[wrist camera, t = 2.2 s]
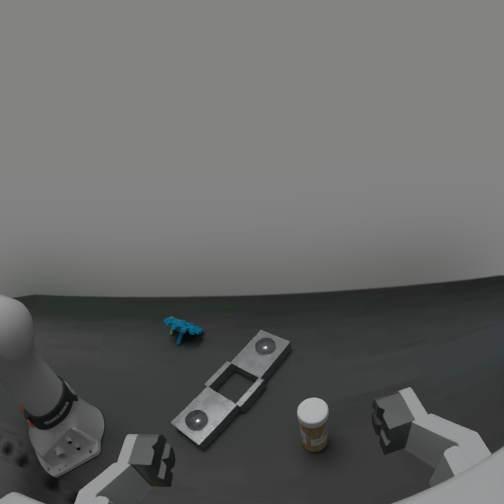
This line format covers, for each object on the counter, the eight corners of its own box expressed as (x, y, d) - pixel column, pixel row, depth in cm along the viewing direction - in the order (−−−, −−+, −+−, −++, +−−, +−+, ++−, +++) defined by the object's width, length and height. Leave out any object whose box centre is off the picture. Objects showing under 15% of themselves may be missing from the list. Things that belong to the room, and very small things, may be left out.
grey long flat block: (207, 453, 46) (201, 446, 45) (173, 426, 52) (166, 418, 50) (295, 351, 64) (293, 341, 62) (260, 336, 70) (257, 326, 68)
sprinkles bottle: (324, 454, 42) (324, 425, 36) (299, 450, 44) (292, 420, 37) (330, 432, 46) (331, 398, 39) (305, 429, 48) (301, 394, 41)
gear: (211, 331, 73) (176, 326, 66) (204, 353, 72) (170, 349, 65) (189, 317, 81) (157, 311, 74) (183, 337, 80) (151, 332, 74)
